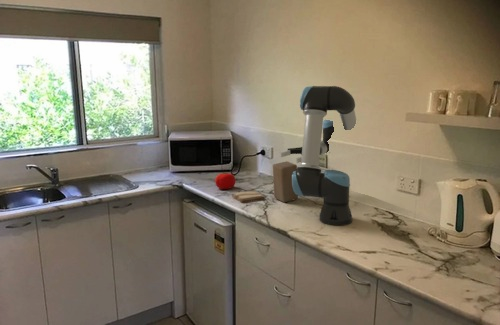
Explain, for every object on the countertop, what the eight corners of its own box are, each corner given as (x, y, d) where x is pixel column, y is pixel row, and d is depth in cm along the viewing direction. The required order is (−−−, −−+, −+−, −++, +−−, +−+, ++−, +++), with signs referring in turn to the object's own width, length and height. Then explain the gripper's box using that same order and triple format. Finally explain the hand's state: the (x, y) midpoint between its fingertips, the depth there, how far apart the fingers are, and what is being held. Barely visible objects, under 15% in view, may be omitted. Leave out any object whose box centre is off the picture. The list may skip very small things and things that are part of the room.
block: (283, 203, 209) (282, 168, 204) (273, 198, 218) (271, 164, 212) (298, 199, 214) (297, 164, 208) (288, 194, 222) (287, 160, 217)
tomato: (238, 189, 237) (237, 173, 235) (218, 191, 233) (217, 175, 231) (232, 185, 248) (231, 169, 246) (212, 187, 243) (212, 171, 241)
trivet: (264, 199, 216) (264, 196, 216) (241, 203, 211) (241, 199, 210) (253, 193, 229) (253, 189, 228) (232, 196, 223) (231, 193, 223)
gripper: (332, 160, 215) (304, 169, 204) (302, 150, 234) (275, 158, 224) (333, 147, 212) (303, 156, 201) (302, 139, 232) (274, 146, 221)
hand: (288, 157), depth 212 cm, fingers open, 13 cm apart
